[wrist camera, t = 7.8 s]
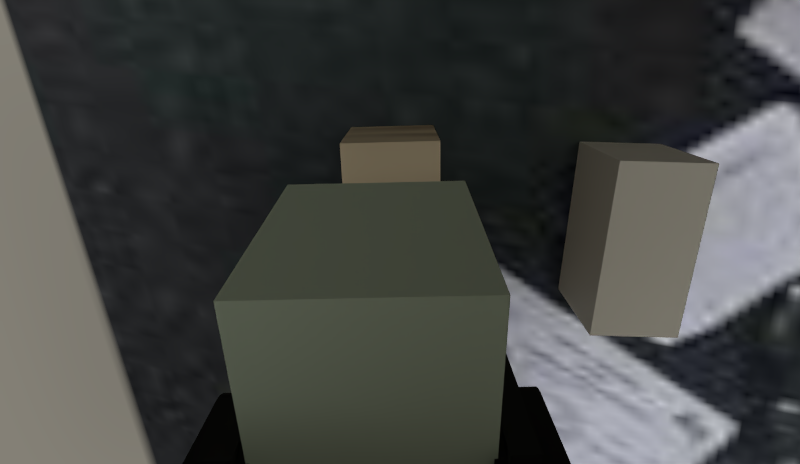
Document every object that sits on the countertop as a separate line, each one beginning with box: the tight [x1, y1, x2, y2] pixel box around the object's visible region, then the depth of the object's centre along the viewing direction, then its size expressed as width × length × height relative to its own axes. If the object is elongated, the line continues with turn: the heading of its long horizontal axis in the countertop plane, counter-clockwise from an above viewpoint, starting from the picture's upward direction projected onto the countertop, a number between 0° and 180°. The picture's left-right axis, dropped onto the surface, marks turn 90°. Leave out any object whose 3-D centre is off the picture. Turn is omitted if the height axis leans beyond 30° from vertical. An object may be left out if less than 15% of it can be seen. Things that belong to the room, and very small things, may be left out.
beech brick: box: [340, 125, 440, 183], centre depth 24 cm, size 8×4×5 cm, turn 2°
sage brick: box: [213, 181, 510, 464], centre depth 11 cm, size 8×4×5 cm, turn 1°
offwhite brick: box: [558, 142, 719, 338], centre depth 24 cm, size 8×4×5 cm, turn 178°
